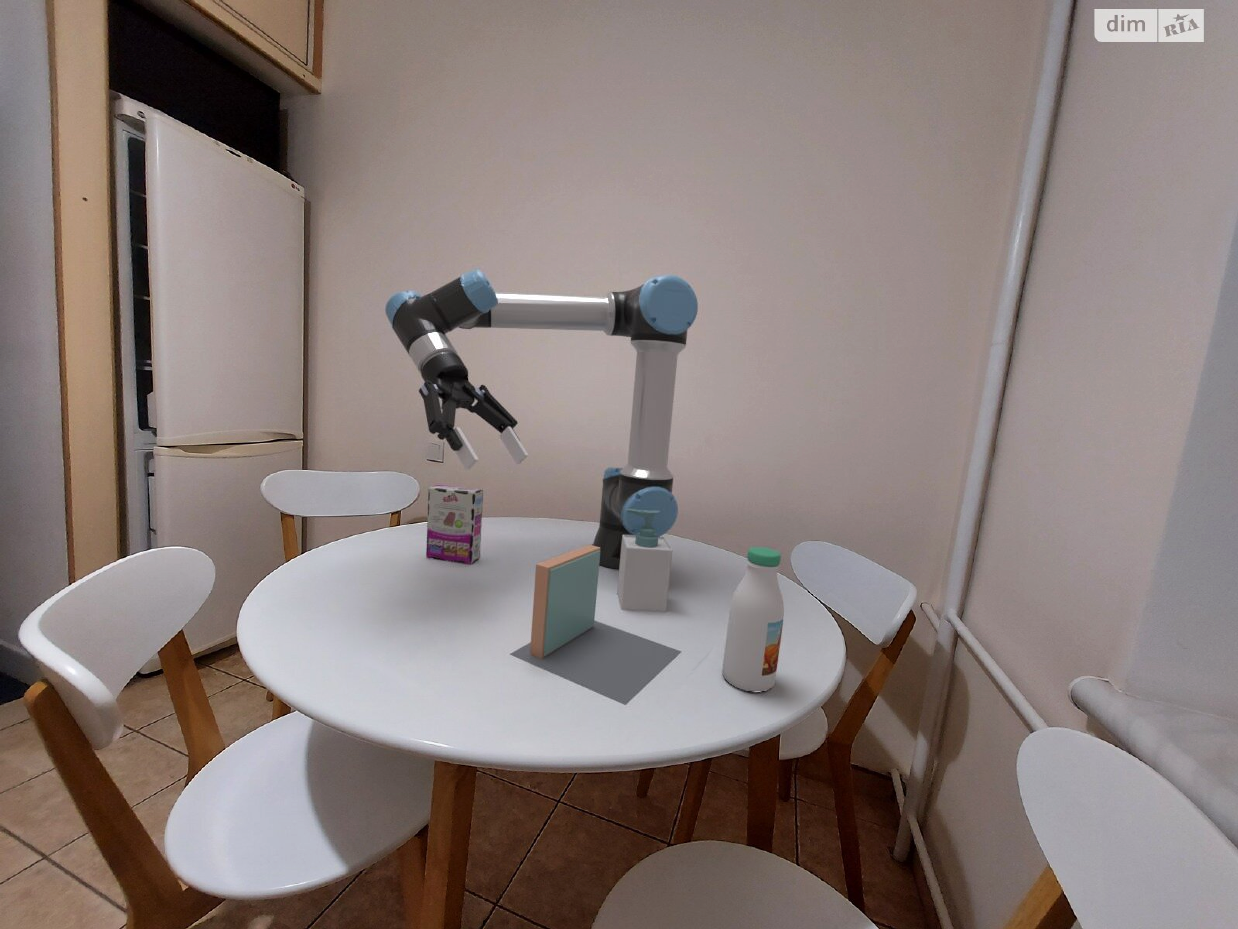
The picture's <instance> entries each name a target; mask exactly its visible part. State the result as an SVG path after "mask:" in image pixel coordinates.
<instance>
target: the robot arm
mask: <svg viewBox="0 0 1238 929" xmlns="http://www.w3.org/2000/svg"><path fill="white" fill-rule="evenodd" d="M494 290H495V289H494V288H493V286H492V284H491V283H490V281H489V279H488V278H487V276H486V275H485V273H484V272H483V271H482V270H480V269H473V270H471V271H469V272H467V273H463V274H461V275H460V276H459V277H457V278H455V279H453V280H452V281H450V282H448V283H446V284H444V285H442V286H440V287H439V288H436V290H433V291H432V292H430V293H428V294H425V295H423V296H422V295H421V294H420V293H419V292H417V291H415V290H409V289H408V290H406V291H398V292H396V293H395V294H393V295H392V296H391V297H389V299H388V300H387V302H386V304H385V309H384V310H385V315H386V317H387V319H388V321H389V323H390V324H391V329H392V330H393V331H394V333H395V335H396V336H397V338H398V340H399V341H400V343H401V344H402V347H403V348H404V349H405V351H406V353H407V354H408V356H409V357H410V358H411V361H412V362H413V364H414V365H415V367H416V369H417V370H418V372H419V373H420V376H421V378H422V379H423V381H424V383H423V384H422V385H421V386H420V388H419V389H418V393H419V394H420V396H421V398H422V399H423V404H424V406H423V407H424V410H425V416H426V422H427V427H428V432H429V433H431V434H432V435H435V434H436V433H437V435H436V437H437V438H438V439H439V440H440V441H441V440H445V441H446V442H447V443H448V445H449V447H450V448H451V450H452V451H454V452H455V455H456V456H457V457H458V459H459V461H460V462H461V464H462V466H463V467H464V469H465V471H466V470H467V471H469V470H471V469H472V467H473V466H474V465H475V464H476V463H477V462H478V461H479V460H480V459H479V457H478V456H477V454H476V453H475V450H474V449H473V447H472V445H471V444H470V442H469V441H468V439H467V438H466V436H465V434H464V432H463V431H462V429H461V427H459V426H457V427H455V425H456V423H455V422H456V414H457V413H456V412H457V411H456V410H457V409H463V410H467V411H468V412H469V413H472V414H476V415H477V416H479V417H480V418H481V419H483V420H484V422H486V423H487V424H489V425H490V426H491V427H493V429H495V430H496V431H498V432H499V433H500V434H499V438H500V440H501V442H502V443H503V445H504V447H505V449H506V450H508V452H509V454H510V456H511V457H512V458H513V460H514V462H515V464H516V465H520V464H522V462H523V461H524V460H526V459H527V457H529V453H528V451H527V450H526V449H525V447H524V445H523V444H522V442H521V440H520V438H519V436H518V435H517V433H516V432H515V431H514V428H515V427H516V426H517V425H518V421H517V420H516V418H515V417H513V416H512V414H511V413H510V412H509V411H508V410H507V409H506V408H505V407H504V406H503V404H501V403H500V402H499V401H498V400H497V399H496V398H495V397H494V396H493V394H491V392H490V391H489V389H488V387H487V386H486V385H485V384H481V385H480V386H479V387H476V386H474V385H473V384H472V383H471V381H469V370H468V368H467V366H466V364H464V361H463V360H462V359H461V357H460V356H459V354H458V352H457V350H456V348H455V347H454V345H453V344H452V342H451V341H450V339H449V338H448V336H447V335H446V334H448V333H450V332H452V331H454V330H455V329H457V328H459V329H464V330H473V329H475V328H476V329H477V328H479V329H481V328H482V329H489V328H490V329H491V328H492V329H495V328H497V329H519V330H520V329H526V330H527V329H529V330H561V331H562V330H564V331H565V330H566V331H590V332H591V331H594V332H595V331H599V332H601V331H602V332H603V333H605V335H606V336H611V337H613V336H614V337H615V336H616V337H626V338H627V337H628V338H630V345H631V346H632V347H633V348H634V350H636V360H635V369H634V370H635V372H634V382H633V394H632V395H633V396H632V407H631V417H630V418H631V420H630V431H629V441H628V442H629V443H628V456H627V464H626V465H625V466H624V467H615V466H614V467H612V466H611V467H607V468H605V470H604V472H603V478H602V481H601V482H602V488H601V489H602V490H601V491H602V492H601V503H600V513H599V514H600V515H599V524H598V525H599V526H598V530H597V531H596V535H595V537H594V540H593V543H592V544H591V545H593V546H596V547H600V562H599V566H602V567H606V568H609V569H610V568H611V569H615V570H617V569H618V570H619V567H620V556H621V545H622V536H623V535H636V534H637V533H640V529H641V527H644V526H645V521H644V518H645V517H642V516H638V515H636V514H634V513H629V512H627V511H626V510H627V509H636V510H647V511H657V510H658V511H660V513H659V514H654V519H653V523H652V524H651V527H653V528H655V534H656V535H657V536H658V537H663V535H665V534H666V533H667V532H669V531H670V530H671V529H672V528H673V526H674V524H675V523H676V521H677V519H678V515H679V506H678V502H677V499H676V497H675V496H674V495H673V487H674V486H673V485H674V475H673V473H672V472H671V471H670V470H669V468H668V464H669V463H668V461H669V450H670V441H671V430H672V420H673V419H672V418H673V411H674V410H673V409H674V397H675V388H676V387H675V385H676V376H677V366H678V357H679V354H680V353H681V352H682V351H684V349H686V347H687V340H688V331H689V329H690V328H691V326H692V325H693V324H694V322H695V320H696V318H697V315H698V311H699V305H698V304H699V302H698V299H697V296H696V295H697V294H696V293H695V290H694V289H693V288H692V286H691V285H690V284H689V283H688V281H686V280H685V279H683V278H682V277H679V276H678V275H673V274H663V275H662V274H661V275H658V276H654V277H651V278H649V279H648V280H646V282H645V283H644V284H641V285H640V286H638V287H636V288H633V289H630V290H624V291H608V292H607V293H606V294H604V295H585V294H584V295H583V294H561V293H557V294H556V293H536V292H516V291H494ZM440 399H441V401H440ZM475 401H477V402H476V403H475ZM440 402H441V403H440ZM474 403H475V404H474ZM473 404H474V405H473Z"/></svg>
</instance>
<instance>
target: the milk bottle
mask: <svg viewBox="0 0 1238 929" xmlns="http://www.w3.org/2000/svg"><path fill="white" fill-rule="evenodd" d="M746 558H747V559H746V560H747V561H746V565H747V569H746V571H745V573H744V575H743V578H742V579H741V581H740V582H739V584H738V586H737V587H736V589H735V591H734V593H733V595H732V597H731V598H732V600H731V603H730V609H729V615H728V622H727V629H726V637H725V642H724V644H725V646H724V653H723V660H722V662H723V663H722V668H721V669H722V671H721V672H722V676H723V678H724V680H725V679H726V680H727V681H728V682H729V683H728V682H727V681H726V680H725V681H726V682H727V683H728V684H729V685H731V684H732V685H731V686H733V685H734V686H735V688H736V687H737V689H738V688H741V689H743V690H742V691H744V690H747V691H746V692H748V691H765V690H768V689H770V688H771V689H772V688H773V687H774V685H775V683H776V677H777V670H778V664H779V656H780V650H781V649H780V648H781V642H782V641H781V640H782V633H783V625H784V614H785V607H784V606H785V605H784V598H783V595H782V592H781V589H780V585H779V581H778V570H779V569H780V564H781V553H780V552H779V551H777V550H775V549H772V548H769V547H762V546H752V547H750V548H748V550H747V556H746ZM734 686H733V687H734ZM741 689H740V690H741ZM771 689H770V690H771ZM768 691H769V690H768Z"/></svg>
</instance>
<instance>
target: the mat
mask: <svg viewBox="0 0 1238 929" xmlns="http://www.w3.org/2000/svg"><path fill="white" fill-rule="evenodd" d="M530 646H531V641H530V642H528V643H527V644H525V645H523V646H521V647H520V648H518V649H516V650H514V651H512V652H510V653H509V655H510V656H512V657H514V658H516V659H519V660H522V661H524V662H525V663H528V664H530V665H533V666H535V667H538V668H540V669H542V670H544V671H547V672H549V673H551V674H554V675H556V676H558V677H560V678H562V679H565V680H567V681H570V682H572V683H574V684H576V685H578V686H582V687H584V688H586V689H588V690H590V691H593V692H595V693H597V694H599V695H602V696H604V697H606V698H609V699H611V700H613V701H615V702H618V703H620V704H622V705H624V706H626V705H628V703H629V702H630V701H631V700H633V699H634V697H636V696H637V695H638V694H639V693H640V692H641V691H642V690H643V689H644V688H646V686H647V685H648V684H650V683H651V681H652V680H653V679H655V678H656V677H657V675H659V674H660V673H661V672H662V671H663V670H664V669H665V668H666V667H667V666H668V665H670V664H671V663H672V661H673V660H675V659H676V658H677V657H678V656H679V654H681V653H682V650H679V649H676V648H673V647H671V646H667V645H665V644H662V643H660V642H656V641H653V640H650V639H648V638H645V637H642V636H640V635H636V634H634V633H630V632H627V631H625V630H622V629H620V628H616V627H613V626H611V625H608V624H606V623H603V622H599V621H597V620H594V626H593V627H592V628H590V629H588V630H587V631H585V632H584V633H582V634H580V635H579V636H577V637H576V638H574V639H572V640H571V641H569V642H567V643H566V644H564V645H563V646H561V647H559V648H558V649H556V650H555V651H553V652H551V653H550V654H548V655H546V656H545V657H543V658H542V659H541V658H539V657H536V656H534V655H532V654H530Z"/></svg>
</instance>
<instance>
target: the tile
mask: <svg viewBox="0 0 1238 929" xmlns="http://www.w3.org/2000/svg"><path fill="white" fill-rule="evenodd" d="M599 562H600V547H596V546H593V545H592V544H588V545H585V546H582V547H579V548H577V549H574V550H570V551H568V552H565V553H563V554H560V555H558V556H555V557H552V558H549V559H547V560H544V561H542V562H538V563H536V564H535V578H534V590H533V591H534V593H533V606H532V618H531V619H532V620H531V634H530V642H531V646H530V654H532V655H534V656H536V657H539V658H541V659H542V658H543V657H545V656H546V655H548V654H550V653H551V652H553V651H555V650H556V649H558V648H559V647H561V646H563V645H564V644H566V643H567V642H569V641H571V640H572V639H574V638H576V637H577V636H579V635H580V634H582V633H584V632H585V631H587V630H588V629H590V628H592V627H593V626H594V621H595V616H596V608H597V607H596V604H597V596H598V582H599V572H600V565H599Z"/></svg>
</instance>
